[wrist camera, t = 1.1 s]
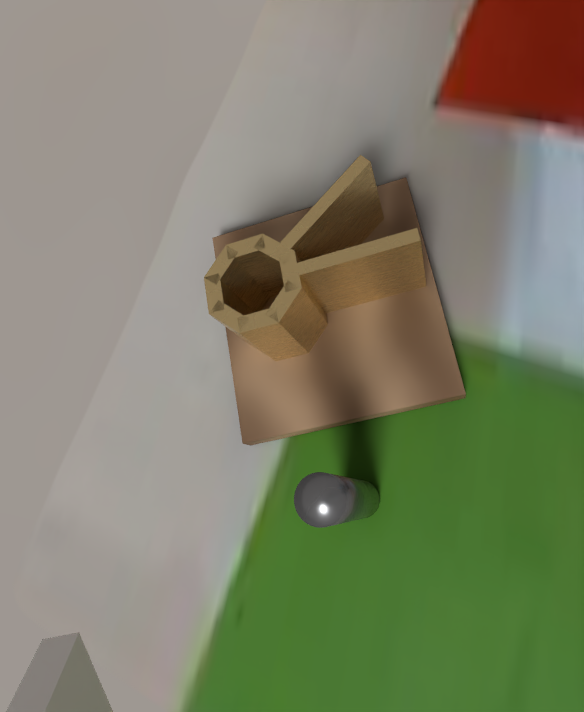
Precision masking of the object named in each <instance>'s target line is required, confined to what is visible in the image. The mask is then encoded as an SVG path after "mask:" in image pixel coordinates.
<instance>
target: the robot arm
mask: <svg viewBox="0 0 584 712" xmlns="http://www.w3.org/2000/svg"><path fill="white" fill-rule="evenodd" d="M6 712H113V711H112V708H111V707H110V704H109V701H108V699H107V697H106V694H105V692H104V690H103V688H102V685H101V683H100V680H99V678H98V676H97V673H96V671H95V669H94V666H93V664H92V662H91V660H90V657H89V655H88V653H87V650H86V648H85V646H84V643H83V641H82V639H81V636H80V634H79V633H74V634H69V635H63V636H58V637H53V638H48V639H42V641H41V643H40V646H39V648H38V649H37V651H36V653H35V655H34V657H33V659H32V661H31V663H30V665H29V667H28V669H27V671H26V673H25V675H24V677H23V679H22V681H21V683H20V685H19V687H18V689H17V691H16V693H15V695H14V697H13V699H12V701H11V703H10V705H9V707H8V709H7V711H6Z"/></svg>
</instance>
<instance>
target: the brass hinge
mask: <svg viewBox="0 0 584 712" xmlns="http://www.w3.org/2000/svg"><path fill="white" fill-rule="evenodd" d="M383 220H384V215H383V211H382V207H381V203H380V199H379V195H378V191H377V187H376V183H375V178H374V174H373V170H372V166H371V162H370V161H369V160H367V159H366V158H364V157H363V156H361V155H360V156H359V157H358V158H357V159H356V160H355V161H354V163H353V164H352V165H351V166H350V167H349V168H348V169H347V170H346V171H345V172H344V173H343V174H342V176H341V177H340V178H339V179H338V180H337V181H336V182H335V183H334V184H333V185H332V186H331V188H330V189H329V190H328V191H327V192H326V193H325V194H324V195H323V196H322V197H321V198H320V200H319V201H318V202H317V203H316V204H315V205H314V206H313V207H312V208H311V209H310V210H309V212H308V213H307V214H306V215H305V216H304V217H303V218H302V219H301V220H300V221H299V222H298V224H297V225H296V226H295V227H294V228H293V229H292V230H291V231H290V232H289V233H288V234H287V235H286V237H285V238H284V239H283V240H282V241H281V242H280V243H279V242H278V241H276V240H274V239H272V238H270V237H268V236H266V235H265V234H260V235H257V236H253V237H250V238H247V239H244V240H240V241H237V242H234V243H231V244H227V245H226V246H225V247H224V249H223V250H222V252H221V253H220V255H219V256H218V257H217V259H216V260H215V262H214V263H213V265H212V266H211V268H210V269H209V271H208V272H207V274H206V275H205V277H204V281H205V289H206V296H207V303H208V310H209V314H210V315H211V316H212V317H214V318H215V319H216V320H218V321H219V322H220V323H222V324H223V325H224V326H226V327H227V328H228V329H230V330H231V331H232V332H234V333H235V334H236V335H238V336H239V337H240V338H242V339H243V340H244V341H246V342H247V343H248V344H250V345H251V346H253V347H254V348H256V349H257V350H259V351H260V352H262V353H264V354H265V355H267V356H268V357H270V358H271V359H273V360H275V361H280V360H284V359H288V358H292V357H296V356H300V355H304V354H307V353H309V352H310V351H311V349H312V348H313V346H314V345H315V343H316V342H317V340H318V338H319V337H320V335H321V334H322V332H323V331H324V329H325V328H326V326H327V325H328V322H327V317H326V313H329V312H333V311H337V310H340V309H344V308H348V307H352V306H355V305H359V304H363V303H367V302H370V301H374V300H378V299H382V298H385V297H389V296H393V295H397V294H400V293H404V292H408V291H411V290H415V289H419V288H423V287H426V279H425V271H424V263H423V255H422V247H421V240H420V236H419V233H418V229H417V228H415V229H411V230H408V231H404V232H401V233H398V234H394V235H391V236H387V237H384V238H380V239H377V240H374V241H370V242H367V243H363V244H362V242H363V241H364V240H365V239H366V238H367V237H368V236H369V235H370V234H371V233H372V232H373V231H374V229H375V228H376V227H377V226H378V225H379V224H380V223H381V222H382V221H383ZM277 295H278V296H277ZM273 296H277V297H276V299H275V300H274V302H273V303H272V305H271V306H270V308H269V309H266V310H263V308H264V306H265V305H266V303H267V302H268V300H269V299H270V297H273Z"/></svg>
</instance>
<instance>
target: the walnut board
mask: <svg viewBox="0 0 584 712" xmlns="http://www.w3.org/2000/svg"><path fill="white" fill-rule="evenodd" d="M377 191H378V195H379V199H380V203H381V207H382V211H383V215H384V220H383V221H382V222H381V223H380V224H379V225H378V226H377V227H376V228H375V229H374V231H373V232H372V233H371V234H370V235H369V236H368V237H367V238H366V239H365V240H364V241H363V242H362V244H363V243H367V242H370V241H374V240H377V239H380V238H384V237H387V236H391V235H394V234H398V233H401V232H404V231H408V230H411V229H415V228H417V229H418V233H419V236H420V240H421V247H422V255H423V263H424V271H425V279H426V287H423V288H419V289H415V290H411V291H408V292H404V293H400V294H397V295H393V296H389V297H385V298H382V299H378V300H374V301H370V302H367V303H363V304H359V305H355V306H352V307H348V308H344V309H340V310H337V311H333V312H329V313H326V317H327V322H328V325H327V326H326V328H325V329H324V331H323V332H322V334H321V335H320V337H319V338H318V340H317V342H316V343H315V345H314V346H313V348H312V349H311V351H310V352H309V353H307V354H304V355H300V356H296V357H292V358H288V359H284V360H280V361H275V360H273V359H271V358H270V357H268V356H267V355H265V354H264V353H262V352H260V351H259V350H257V349H256V348H254V347H253V346H251V345H250V344H248V343H247V342H246V341H244V340H243V339H242V338H240V337H239V336H238V335H236V334H235V333H234V332H232V331H231V330H230V329H228V328H227V327H226V333H227V340H228V346H229V353H230V360H231V367H232V374H233V381H234V387H235V394H236V401H237V408H238V415H239V421H240V428H241V435H242V442H243V444H247V445H254V444H259V443H263V442H268V441H273V440H277V439H282V438H286V437H291V436H295V435H300V434H304V433H309V432H313V431H318V430H323V429H327V428H332V427H336V426H341V425H345V424H350V423H354V422H359V421H363V420H368V419H373V418H377V417H382V416H386V415H391V414H395V413H400V412H404V411H409V410H413V409H418V408H423V407H427V406H432V405H436V404H441V403H445V402H450V401H454V400H459V399H463V398H465V396H466V393H465V389H464V386H463V382H462V378H461V375H460V371H459V368H458V364H457V360H456V357H455V353H454V349H453V346H452V342H451V338H450V335H449V331H448V328H447V324H446V320H445V317H444V313H443V309H442V306H441V302H440V299H439V295H438V291H437V288H436V284H435V280H434V277H433V273H432V269H431V266H430V262H429V259H428V255H427V251H426V248H425V244H424V240H423V237H422V233H421V229H420V226H419V222H418V219H417V215H416V211H415V208H414V204H413V200H412V197H411V193H410V190H409V186H408V182H407V179H406V178H402V179H399V180H396V181H393V182H390V183H386V184H383V185H380V186H377ZM311 208H312V207H310V208H307V209H303V210H300V211H297V212H294V213H291V214H287V215H284V216H281V217H278V218H275V219H271V220H268V221H265V222H262V223H259V224H255V225H252V226H249V227H246V228H243V229H239V230H236V231H233V232H230V233H227V234H223V235H220V236H217V237H214V238H213V244H214V251H215V258H216V259H217V257H218V256H219V255H220V253H221V252H222V250H223V249H224V247H225V246H226V245H227V244H231V243H234V242H237V241H240V240H244V239H247V238H250V237H253V236H257V235H260V234H265V235H266V236H268V237H270V238H272V239H274V240H276V241H278V242H279V243H280V242H281V241H282V240H283V239H284V238H285V237H286V235H287V234H288V233H289V232H290V231H291V230H292V229H293V228H294V227H295V226H296V225H297V224H298V222H299V221H300V220H301V219H302V218H303V217H304V216H305V215H306V214H307V213H308V212H309V210H310V209H311ZM277 296H278V295H277ZM277 296H273V297H270V299H269V300H268V302H267V303H266V305H265V306H264V308H263V310H266V309H269V308H270V306H271V305H272V303H273V302H274V300H275V299H276V297H277Z"/></svg>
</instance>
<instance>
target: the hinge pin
mask: <svg viewBox="0 0 584 712" xmlns="http://www.w3.org/2000/svg"><path fill="white" fill-rule="evenodd" d="M379 503H380V497H379V493H378V491H377V489H376V488H375V486H374V485H372V484H371V483H369V482H367V481H364V480H359V479H354V478H348V477H343V476H338V475H333V474H328V473H322V472H317V473H312V474H310V475H308V476H306V477H305V478H303V479H302V480H301V481H300V483H299V484H298V486H297V488H296V491H295V495H294V504H295V508H296V511H297V513H298V515H299V516H300V518H301V519H302V520H303V521H304V522H306V523H307V524H309V525H311V526H314V527H327V526H332V525H336V524H341V523H345V522H349V521H354V520H358V519H363V518H367V517H370V516H371V515H373V514H374V513H375V512H376V511H377V509H378V507H379Z"/></svg>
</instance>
